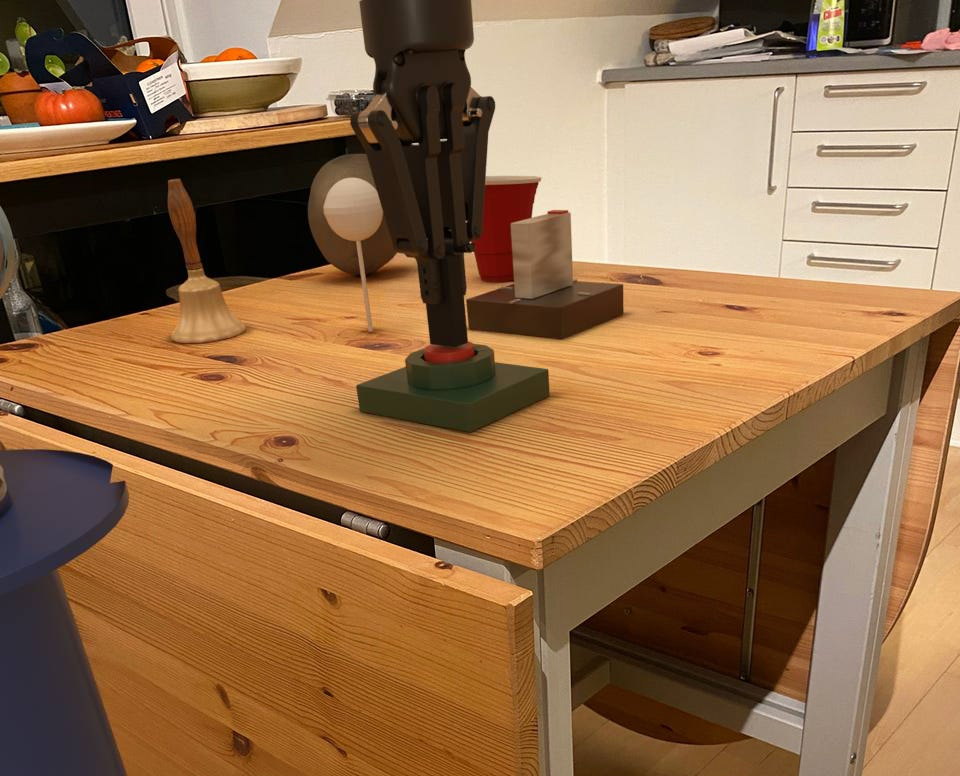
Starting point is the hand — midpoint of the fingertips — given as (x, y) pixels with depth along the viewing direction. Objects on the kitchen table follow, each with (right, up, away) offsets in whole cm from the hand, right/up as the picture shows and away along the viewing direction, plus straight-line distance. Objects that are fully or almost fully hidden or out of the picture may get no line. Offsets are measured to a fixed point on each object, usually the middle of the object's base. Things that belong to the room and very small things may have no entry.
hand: (449, 343), depth 77 cm
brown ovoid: (-13, +27, +58) cm, 65 cm away
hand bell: (-28, +11, +33) cm, 45 cm away
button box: (0, -4, +2) cm, 5 cm away
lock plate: (+9, +10, +25) cm, 28 cm away
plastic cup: (+6, +23, +48) cm, 54 cm away
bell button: (0, -2, +1) cm, 2 cm away
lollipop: (-9, +10, +28) cm, 31 cm away
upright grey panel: (+9, +12, +23) cm, 28 cm away
